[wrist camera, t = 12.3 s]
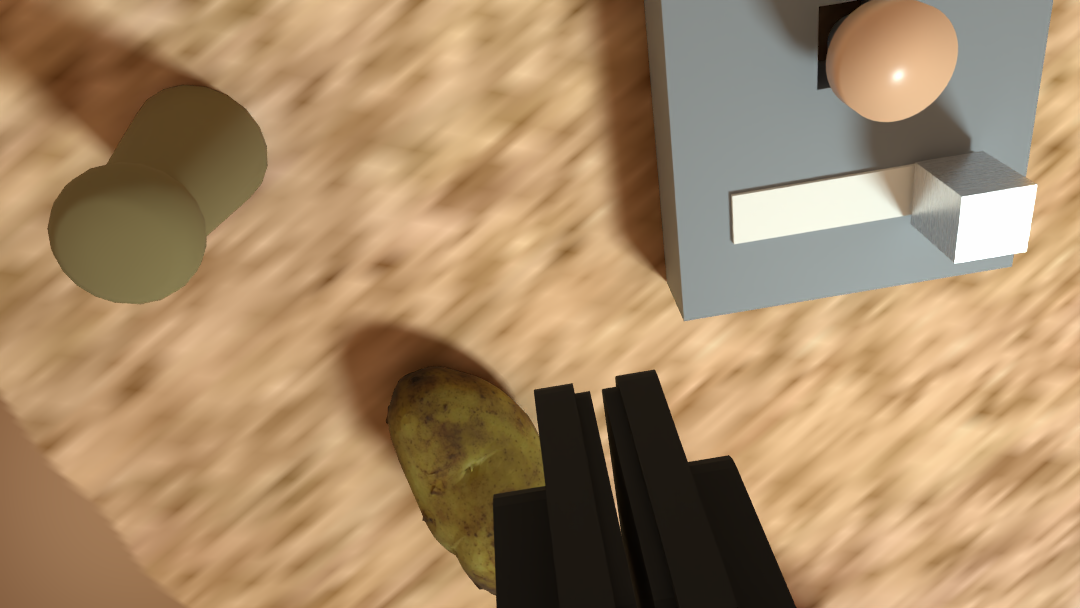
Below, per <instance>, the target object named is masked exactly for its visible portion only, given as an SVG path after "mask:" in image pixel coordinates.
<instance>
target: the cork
mask: <svg viewBox="0 0 1080 608" xmlns="http://www.w3.org/2000/svg"><path fill="white" fill-rule="evenodd" d="M266 169H267V146H266V143H265V140H264V138H263V135H262V132H261V130H260V127H259V126H258V124H257V123H256V122H255V120H254V119H253V118H252V117H251V115H250V114H249V113H248V111H247V110H246V109H245V108H244V107H242V106H241V105H240V104H238V103H237V102H236V101H234V100H233V99H232V98H230V97H229V96H228V95H225V94H223V93H220V92H218V91H215V90H213V89H210V88H208V87H202V86H191V85H181V86H176V87H172V88H167V89H163V90H162V91H160V92H159V93H157V94H155V95H154V96H152V97H151V98H149V99H148V100H146V102H145V103H144V105H143V106H142V107H141V109H140V110H139V112H138V113H137V114H136V116H135V118H134V119H133V121H132V123H131V124H130V126H129V128H128V129H127V131H126V133H125V134H124V136H123V138H122V139H121V141H120V143H119V144H118V146H117V148H116V149H115V151H114V153H113V154H112V156H111V158H110V159H109V161H108V163H107V164H106V165H104V166H99V167H95V168H91V169H89V170H87V171H86V172H84V173H83V174H81V175H80V176H78V177H76V178H75V179H73V180H72V181H71V182H70V183H68V184H67V185H66V186H65V187H64V189H63V190H62V192H61V193H60V194H59V196H58V197H57V199H56V200H55V202H54V204H53V207H52V209H51V214H50V219H49V224H48V234H49V240H50V245H51V249H52V252H53V254H54V256H55V258H56V259H57V261H58V263H59V265H60V267H61V268H62V270H63V272H64V273H65V274H66V275H67V276H68V277H69V278H70V279H71V280H72V281H73V282H74V283H75V284H76V285H77V286H79V287H81V288H82V289H84V290H86V291H87V292H89V293H91V294H92V295H94V296H96V297H99V298H102V299H105V300H108V301H112V302H115V303H130V304H144V303H149V302H153V301H158V300H162V299H164V298H165V297H167V296H169V295H170V294H172V293H174V292H176V291H177V290H179V289H180V288H182V287H184V286H185V285H186V284H187V282H188V281H189V280H190V279H191V278H192V276H193V275H194V274H195V273H196V271H197V270H198V268H199V266H200V265H201V262H202V259H203V255H204V252H205V249H206V236H207V235H209V234H210V233H211V232H212V231H213V230H214V229H215V228H216V227H218V226H219V225H220V224H221V223H222V222H223V221H224V220H225V219H227V218H228V217H229V216H230V215H231V214H232V213H233V212H234V211H236V210H237V209H238V208H239V207H240V206H241V205H242V204H243V203H244V202H246V201H247V200H248V199H249V198H250V197H251V196H252V195H253V193H254V192H255V191H256V190H257V188H258V187H259V186H260V185H261V184H262V181H263V178H264V175H265V172H266Z"/></svg>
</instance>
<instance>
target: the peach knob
mask: <svg viewBox="0 0 1080 608" xmlns="http://www.w3.org/2000/svg"><path fill="white" fill-rule="evenodd" d="M827 44H828V52H827V57H826V74H827V79H828V82H829V85H830V87H831V89H832V91H833V92H834V94H835V95H836V96H837V97H838V98H839V99H840V100H841V101H842V102H843V103H845V104H846V105H847V106H849V107H850V108H852V109H853V110H854V111H856V112H857V113H859V114H860V115H861V116H863V117H865V118H867V119H870V120H873V121H878V122H894V121H899V120H903V119H906V118H909V117H911V116H913V115H915V114H917V113H919V112H921V111H922V110H924V109H925V108H926V107H928V106H929V105H930V104H931V103H932V102H934V101H935V100H936V99H937V98H938V96H939V95H940V94H941V93H942V92H943V90H944V89H945V87H946V86H947V84H948V82H949V81H950V79H951V77H952V74H953V72H954V69H955V66H956V62H957V56H958V40H957V36H956V32H955V29H954V27H953V25H952V23H951V22H950V20H949V19H948V18H947V17H946V15H945V14H944V13H942V12H941V11H940V10H938V9H936V8H935V7H933V6H930V5H928V4H925V3H922V2H920V1H917V0H871V1H869V2H867V3H865V4H863V5H861V6H860V7H858V8H857V9H856V10H854V11H853V12H852V13H851V14H849V15H846V16H844V17H842V18H841V19H839V20H838V21H837V22H836V23H835V24H834V26H833V27H832V29H831V30H830V33H829V36H828V42H827Z"/></svg>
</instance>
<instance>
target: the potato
mask: <svg viewBox="0 0 1080 608" xmlns="http://www.w3.org/2000/svg"><path fill="white" fill-rule="evenodd" d="M386 423H387V424H389V431H390V436H391V439H392V442H393V445H394V448H395V450H396V453H397V456H398V459H399V462H400V464H401V467H402V469H403V471H404V474H405V476H406V478H407V480H408V483H409V485H410V487H411V490H412V492H413V494H414V496H415V499H416V501H417V503H418V506H419V508H420V510H421V513H422V515H423V521H425V522H426V524H427V526H428V528H429V530H430V531H431V533H432V534H433V536H434V537H435V538H436V540H437V541H438V542H439V543H440V544H441V545H442V546H443V547H444V548H446V549H447V550H448V551H449V552H451V553H453V554H454V555H456V557H457V558H458V560H459V562H460V564H461V566H462V568H463V569H464V571H465V572H466V574H467V575H468V576H469V578H470V579H471V580H472V581H473V582H474V584H475V585H476V586H477V587H478V588H479V589H484V590H487V591H489V592H490V593H491V594H493V595H496V577H495V551H494V525H493V495H494V494H499V493H505V492H511V491H517V490H523V489H529V488H535V487H541V486H545V479H544V471H543V463H542V454H541V446H540V438H539V435H538V433H537V431H536V428H535V426H534V425H533V423H532V421H531V420H530V418H529V416H528V415H527V414H526V413H525V412H524V411H523V410H522V409H521V408H520V407H519V406H518V405H517V404H516V403H515V402H514V401H513V400H512V399H511V398H510V397H509V396H508V395H506V394H505V393H504V392H503V391H502V390H500V389H499V388H497V387H496V386H495V385H493V384H491V383H489V382H488V381H486V380H483V379H481V378H479V377H476V376H474V375H471V374H468V373H464V372H460V371H456V370H453V369H449V368H444V367H427V368H424V369H420V370H418V371H415V372H413V373H410V374H408V375H406V376H404V377H403V378H402V379H400V380H399V381H398V384H397V386H396V388H395V389H394V392H393V395H392V398H391V402H390V405H389V406H388V416H387V419H386Z"/></svg>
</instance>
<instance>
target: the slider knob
mask: <svg viewBox="0 0 1080 608" xmlns="http://www.w3.org/2000/svg"><path fill="white" fill-rule="evenodd" d="M1036 189H1037V184H1036V183H1034V182H1033V181H1031V180H1029V179H1028V178H1026V177H1025V176H1023V175H1021V174H1020V173H1018V172H1016V171H1015V170H1013V169H1012V168H1010V167H1008V166H1007V165H1005V164H1004V163H1002V162H1000V161H999V160H997V159H995V158H994V157H992V156H991V155H989V154H987V153H986V152H984V151H979V152H973V153H967V154H961V155H955V156H949V157H943V158H937V159H931V160H925V161H919V162H915V171H914V183H913V196H912V208H911V220H910V224H911V225H912V226H913V227H914V228H915V229H916V230H918V231H919V232H920V233H921V234H922V235H923V236H924V237H925V238H927V239H928V240H929V241H930V242H931V243H932V244H933V245H934V246H936V247H937V248H938V249H939V250H940V251H941V252H942V253H943V254H945V255H946V256H947V257H948V258H949V259H950V260H951V261H953V262H954V263H960V262H966V261H972V260H978V259H984V258H990V257H996V256H1002V255H1008V254H1014V253H1020V252H1026V250H1027V244H1028V238H1029V232H1030V226H1031V220H1032V213H1033V207H1034V201H1035V195H1036Z"/></svg>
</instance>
